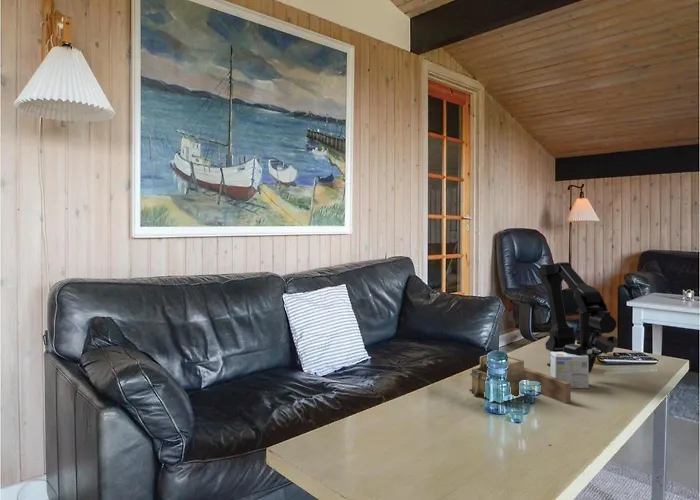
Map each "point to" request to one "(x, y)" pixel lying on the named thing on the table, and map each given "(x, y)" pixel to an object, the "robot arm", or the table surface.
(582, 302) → the robot arm
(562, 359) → the light bulb box
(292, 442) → the table surface
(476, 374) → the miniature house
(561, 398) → the wall
